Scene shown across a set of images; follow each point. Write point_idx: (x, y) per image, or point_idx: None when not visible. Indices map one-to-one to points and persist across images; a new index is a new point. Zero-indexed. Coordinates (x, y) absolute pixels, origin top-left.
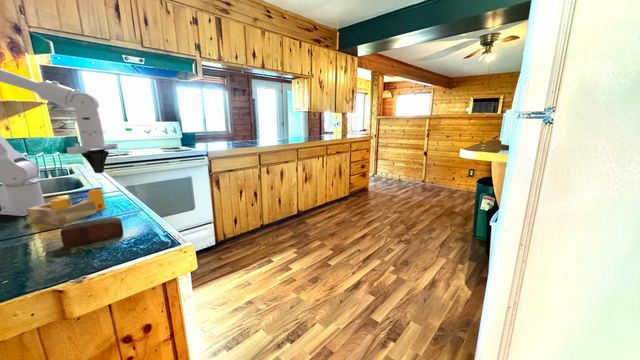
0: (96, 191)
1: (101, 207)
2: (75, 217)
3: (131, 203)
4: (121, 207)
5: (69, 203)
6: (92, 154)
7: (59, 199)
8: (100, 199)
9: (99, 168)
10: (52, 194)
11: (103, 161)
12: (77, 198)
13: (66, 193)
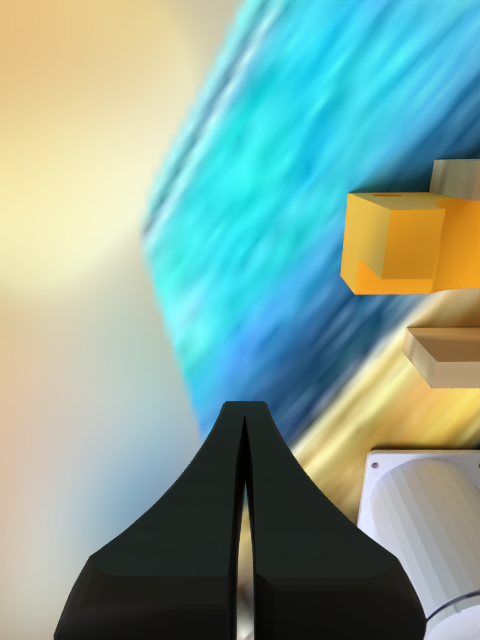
0: (433, 209)
1: (375, 194)
2: None
3: (234, 106)
4: (321, 95)
5: (431, 348)
6: (419, 605)
7: None
8: (388, 200)
9: (273, 424)
10: None
11: (210, 476)
12: None
13: None
